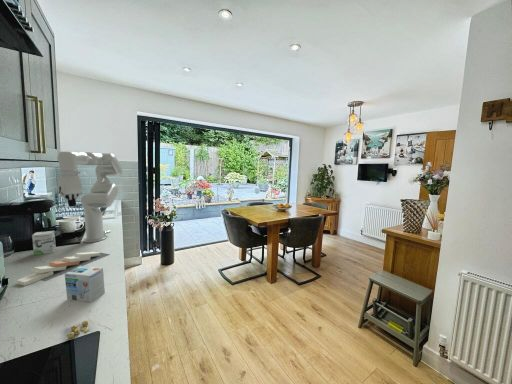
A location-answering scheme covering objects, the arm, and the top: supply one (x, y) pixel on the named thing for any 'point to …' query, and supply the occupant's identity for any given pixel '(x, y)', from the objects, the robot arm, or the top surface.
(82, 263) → the mat
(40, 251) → the ink box
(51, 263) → the terracotta domino
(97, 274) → the light bulb box
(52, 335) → the top surface
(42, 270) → the domino
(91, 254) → the domino
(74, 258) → the domino
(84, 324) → the dice set
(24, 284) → the domino
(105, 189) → the robot arm
